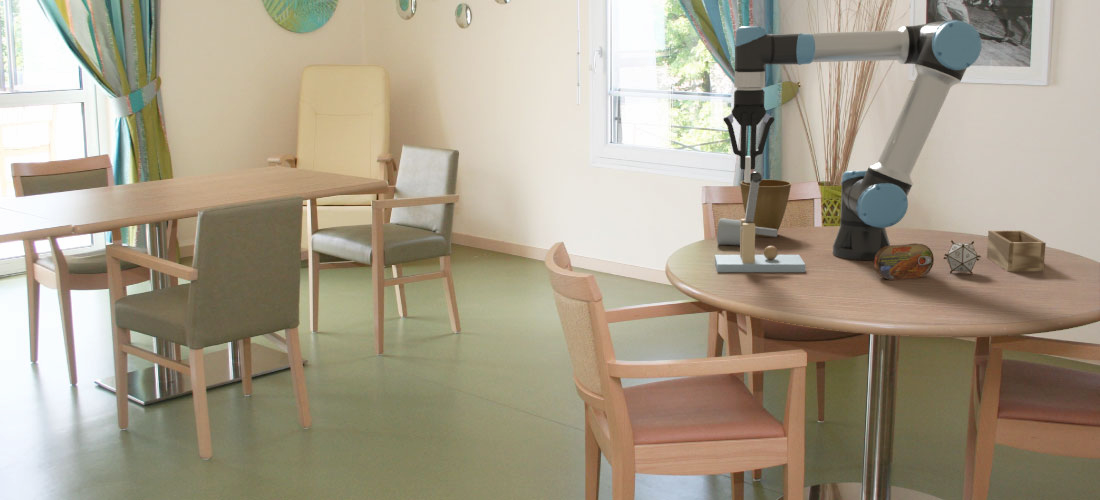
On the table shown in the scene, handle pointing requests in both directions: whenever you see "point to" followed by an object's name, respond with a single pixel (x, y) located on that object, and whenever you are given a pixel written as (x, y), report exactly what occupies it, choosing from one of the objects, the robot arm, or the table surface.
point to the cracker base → (757, 257)
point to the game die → (962, 257)
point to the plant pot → (768, 202)
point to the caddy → (1016, 250)
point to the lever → (751, 206)
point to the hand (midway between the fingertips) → (747, 182)
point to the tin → (903, 261)
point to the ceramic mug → (728, 232)
